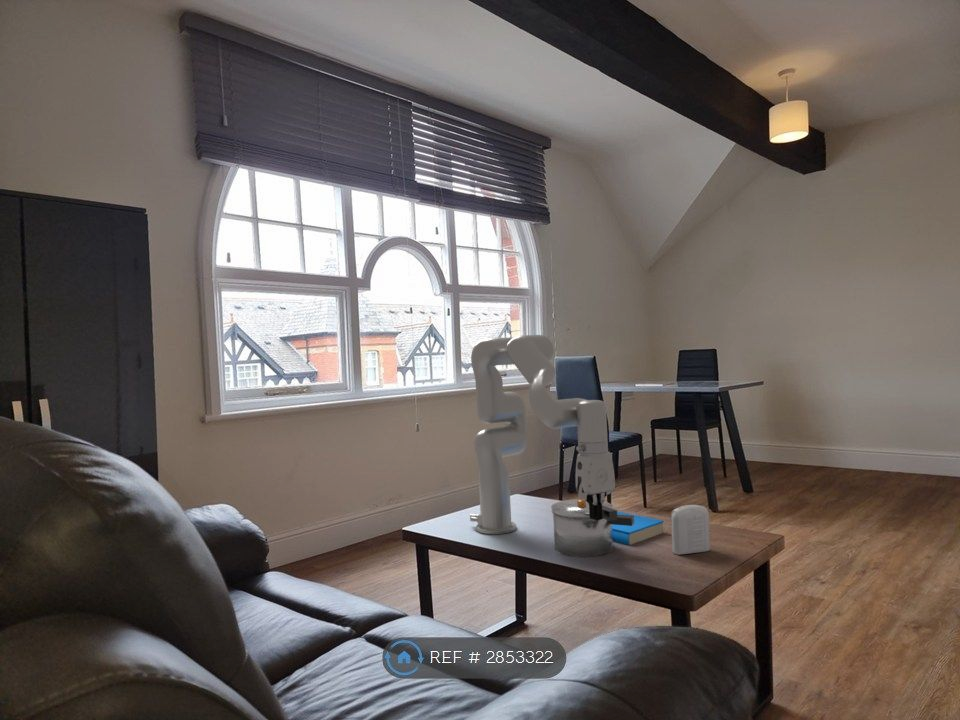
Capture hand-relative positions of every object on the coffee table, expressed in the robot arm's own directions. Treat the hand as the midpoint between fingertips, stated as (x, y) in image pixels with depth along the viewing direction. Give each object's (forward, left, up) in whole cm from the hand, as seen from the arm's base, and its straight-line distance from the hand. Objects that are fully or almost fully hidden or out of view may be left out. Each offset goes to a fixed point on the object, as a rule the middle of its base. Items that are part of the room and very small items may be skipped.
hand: (596, 518), depth 165 cm
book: (-3, +29, -12) cm, 31 cm away
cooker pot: (-4, +10, -11) cm, 16 cm away
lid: (-4, +8, -1) cm, 9 cm away
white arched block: (+21, +15, -11) cm, 28 cm away
